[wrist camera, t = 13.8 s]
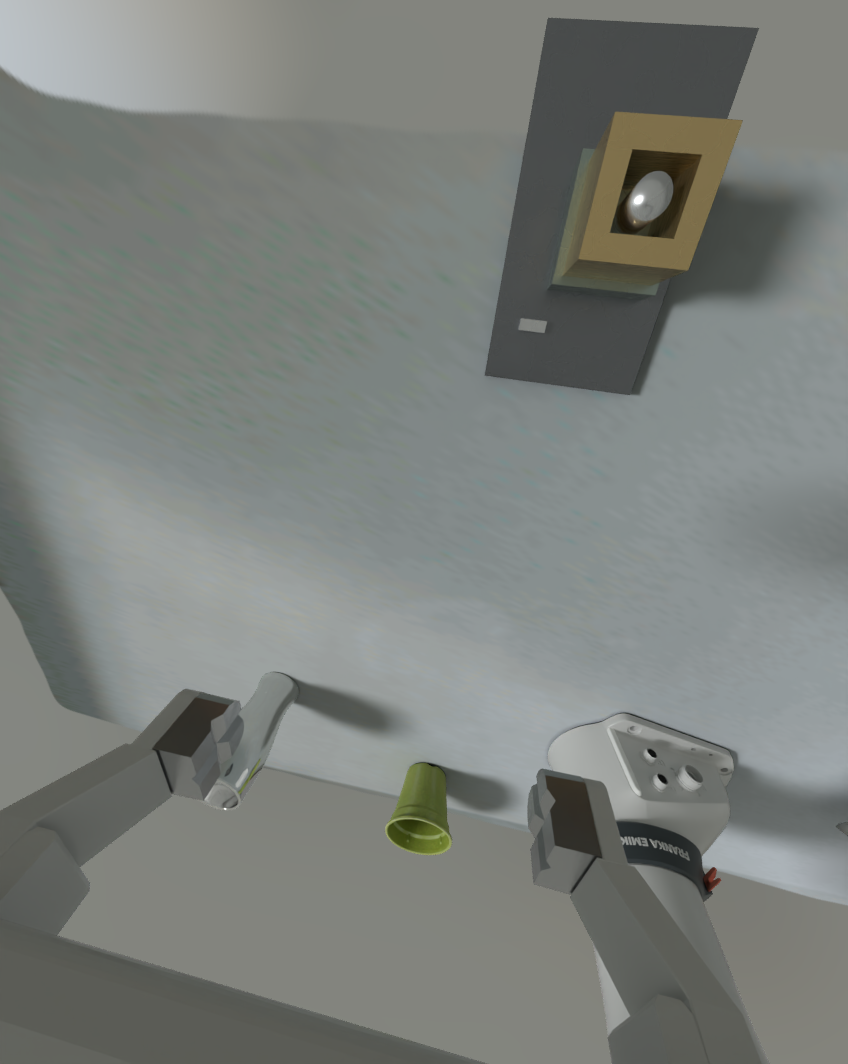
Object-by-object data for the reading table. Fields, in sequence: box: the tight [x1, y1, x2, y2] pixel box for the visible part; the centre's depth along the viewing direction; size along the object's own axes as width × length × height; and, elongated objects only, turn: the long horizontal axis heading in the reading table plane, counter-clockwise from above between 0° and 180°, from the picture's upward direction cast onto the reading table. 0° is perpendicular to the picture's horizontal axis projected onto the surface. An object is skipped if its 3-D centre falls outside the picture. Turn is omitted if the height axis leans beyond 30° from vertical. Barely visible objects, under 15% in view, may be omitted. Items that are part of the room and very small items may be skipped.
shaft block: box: [485, 18, 759, 395], centre depth 23 cm, size 12×20×8 cm, turn 173°
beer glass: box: [199, 672, 299, 810], centre depth 48 cm, size 7×7×15 cm
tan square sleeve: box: [563, 112, 742, 285], centre depth 21 cm, size 6×6×5 cm
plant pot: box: [385, 763, 452, 855], centre depth 55 cm, size 9×9×9 cm
